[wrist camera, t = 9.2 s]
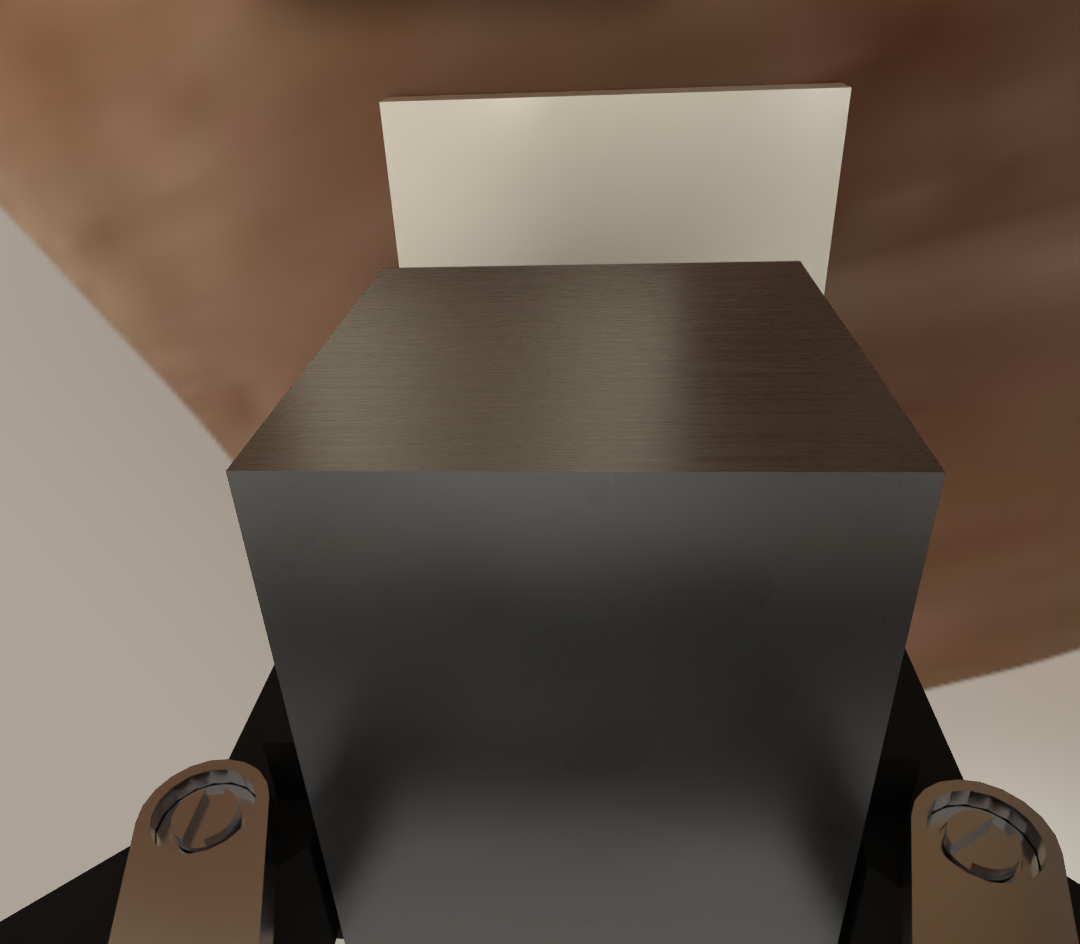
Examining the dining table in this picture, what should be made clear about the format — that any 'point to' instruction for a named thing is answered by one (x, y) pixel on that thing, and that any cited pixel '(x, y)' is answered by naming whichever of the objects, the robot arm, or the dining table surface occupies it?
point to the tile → (617, 176)
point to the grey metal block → (588, 600)
